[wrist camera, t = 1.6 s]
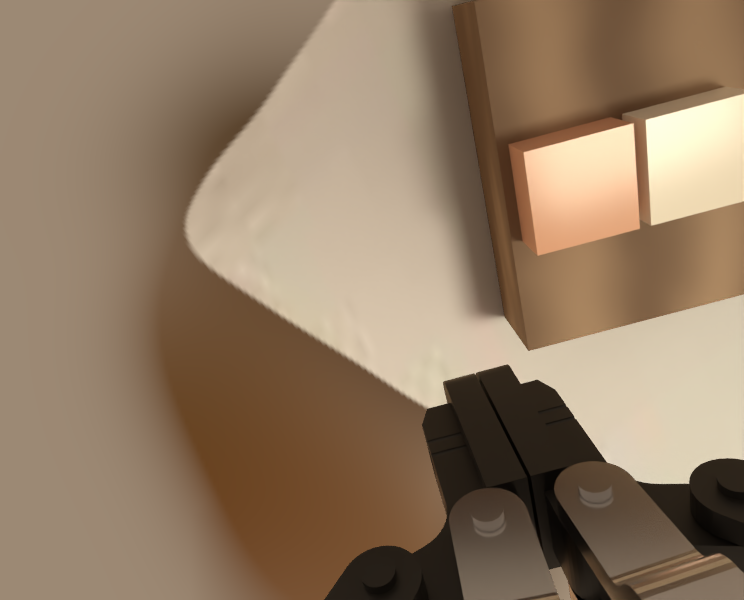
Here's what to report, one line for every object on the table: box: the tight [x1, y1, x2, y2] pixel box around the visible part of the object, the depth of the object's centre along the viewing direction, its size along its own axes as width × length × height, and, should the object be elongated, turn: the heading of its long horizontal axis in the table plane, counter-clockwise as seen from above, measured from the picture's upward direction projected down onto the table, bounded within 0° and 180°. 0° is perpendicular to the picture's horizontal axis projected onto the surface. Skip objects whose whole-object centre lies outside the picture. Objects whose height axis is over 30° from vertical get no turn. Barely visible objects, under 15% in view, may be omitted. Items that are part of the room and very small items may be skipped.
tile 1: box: [622, 87, 744, 226], centre depth 26 cm, size 4×4×2 cm
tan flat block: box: [452, 0, 744, 351], centre depth 29 cm, size 12×16×4 cm
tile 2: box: [508, 117, 640, 256], centre depth 26 cm, size 4×4×2 cm
